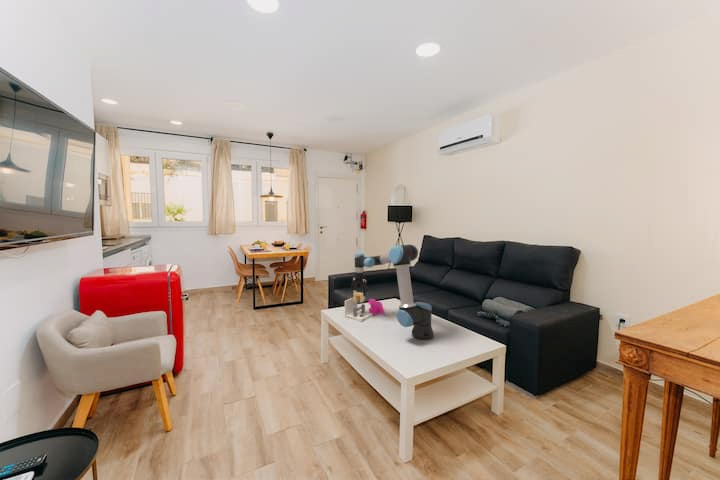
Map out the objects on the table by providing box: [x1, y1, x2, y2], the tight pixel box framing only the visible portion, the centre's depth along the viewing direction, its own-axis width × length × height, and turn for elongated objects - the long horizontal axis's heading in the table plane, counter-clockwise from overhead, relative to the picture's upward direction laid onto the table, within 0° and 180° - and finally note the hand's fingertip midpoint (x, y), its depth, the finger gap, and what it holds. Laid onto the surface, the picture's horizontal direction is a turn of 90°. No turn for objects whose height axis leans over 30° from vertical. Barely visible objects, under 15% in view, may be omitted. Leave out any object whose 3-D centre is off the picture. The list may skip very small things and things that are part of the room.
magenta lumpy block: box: [368, 298, 386, 316], centre depth 252 cm, size 12×10×10 cm
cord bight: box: [353, 291, 366, 304], centre depth 240 cm, size 8×4×7 cm, turn 53°
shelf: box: [344, 297, 374, 323], centre depth 241 cm, size 17×16×14 cm
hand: (359, 298), depth 240 cm, fingers closed on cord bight, 8 cm apart
